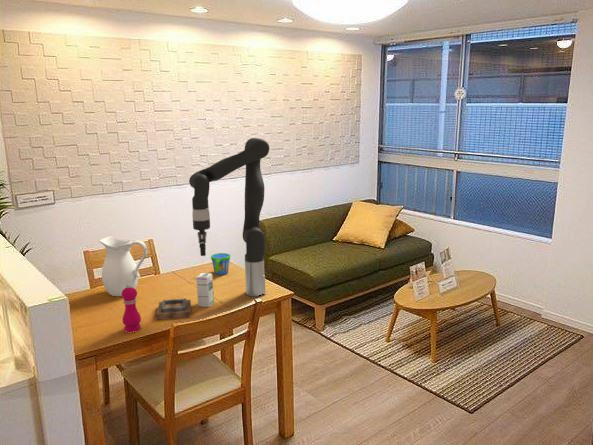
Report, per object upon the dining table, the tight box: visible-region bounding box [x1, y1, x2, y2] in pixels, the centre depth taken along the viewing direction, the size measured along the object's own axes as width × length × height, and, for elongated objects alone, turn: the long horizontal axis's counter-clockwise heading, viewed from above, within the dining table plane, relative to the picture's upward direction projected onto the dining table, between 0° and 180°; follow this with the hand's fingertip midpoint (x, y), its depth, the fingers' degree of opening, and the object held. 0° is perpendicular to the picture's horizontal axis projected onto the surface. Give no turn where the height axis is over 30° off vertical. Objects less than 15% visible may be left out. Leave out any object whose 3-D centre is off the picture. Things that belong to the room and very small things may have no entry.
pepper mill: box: [121, 284, 142, 333], centre depth 201 cm, size 7×7×20 cm
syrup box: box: [195, 272, 215, 308], centre depth 227 cm, size 6×6×14 cm
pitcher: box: [98, 235, 148, 297], centre depth 240 cm, size 24×17×28 cm
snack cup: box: [210, 252, 231, 276], centre depth 270 cm, size 16×10×10 cm
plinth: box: [156, 298, 192, 321], centre depth 220 cm, size 14×14×4 cm
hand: (203, 253), depth 223 cm, fingers open, 8 cm apart
